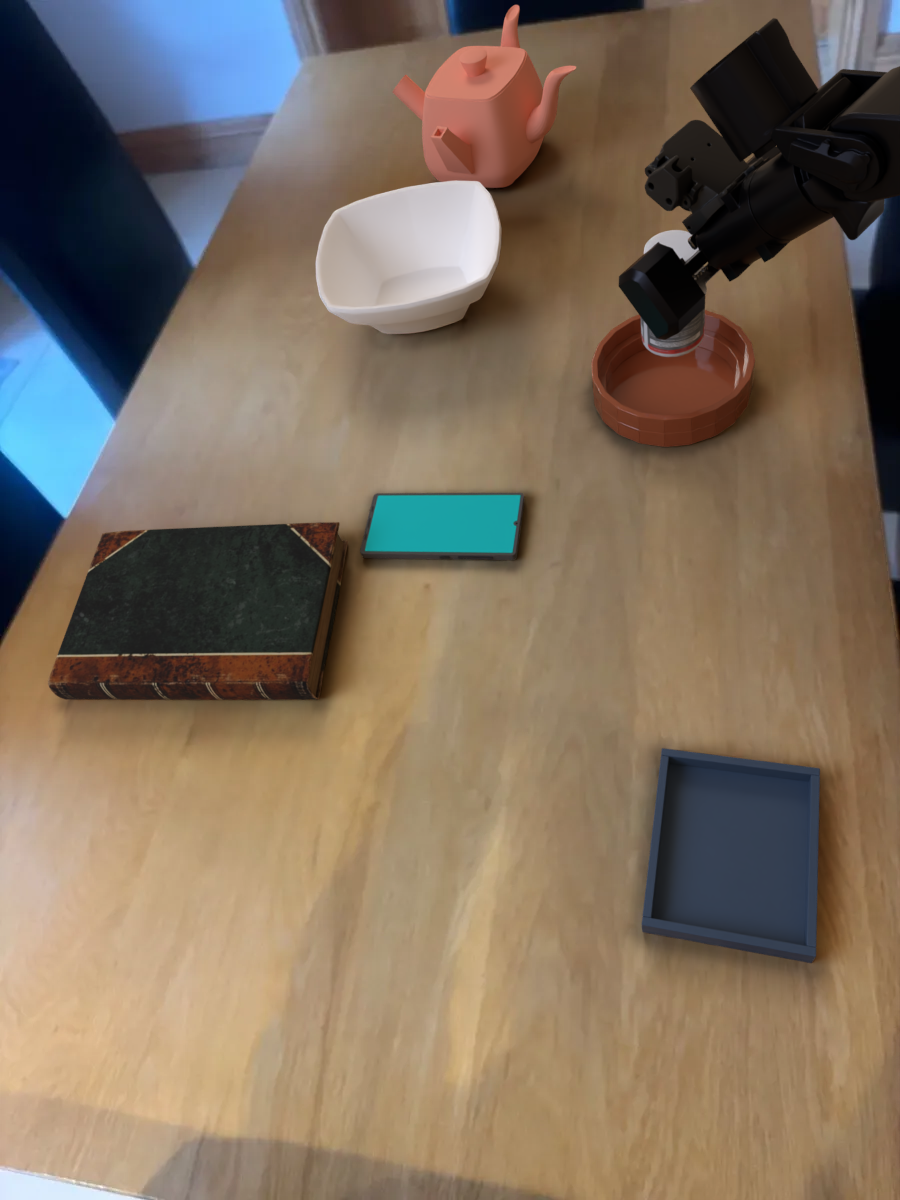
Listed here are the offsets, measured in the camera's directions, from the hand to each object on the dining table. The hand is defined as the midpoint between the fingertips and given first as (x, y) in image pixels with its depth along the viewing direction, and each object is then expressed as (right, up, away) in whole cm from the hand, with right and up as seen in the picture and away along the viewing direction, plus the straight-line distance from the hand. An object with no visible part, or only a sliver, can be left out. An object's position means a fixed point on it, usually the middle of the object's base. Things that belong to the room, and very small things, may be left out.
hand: (659, 277), depth 81 cm
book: (-41, -31, +6) cm, 52 cm away
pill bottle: (+2, -4, +5) cm, 7 cm away
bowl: (-22, +5, +25) cm, 34 cm away
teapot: (-13, +28, +38) cm, 49 cm away
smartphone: (-19, -22, +6) cm, 30 cm away
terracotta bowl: (+3, -8, +10) cm, 13 cm away
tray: (+2, -47, -15) cm, 49 cm away
